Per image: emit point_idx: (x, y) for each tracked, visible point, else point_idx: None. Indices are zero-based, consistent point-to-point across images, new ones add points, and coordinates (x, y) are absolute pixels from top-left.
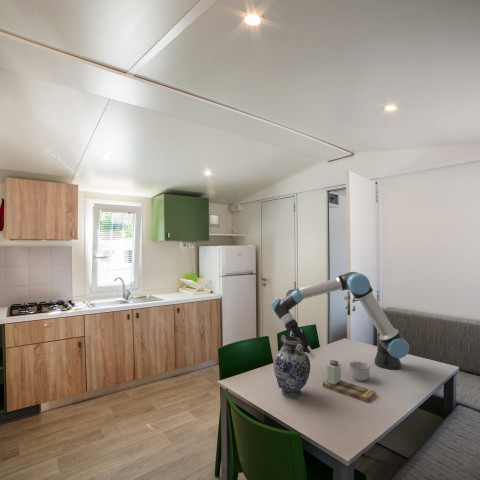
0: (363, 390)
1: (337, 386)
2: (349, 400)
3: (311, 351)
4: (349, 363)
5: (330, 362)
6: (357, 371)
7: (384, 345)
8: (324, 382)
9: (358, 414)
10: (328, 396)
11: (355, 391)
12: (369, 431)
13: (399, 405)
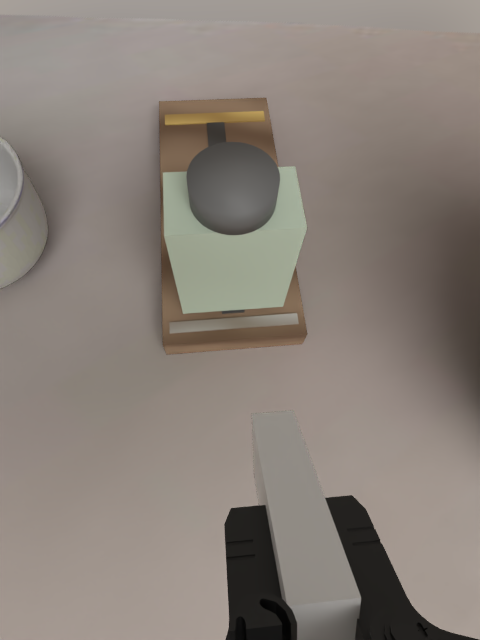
0: (198, 138)
1: None
2: (317, 171)
3: (303, 475)
4: None
5: (276, 195)
6: (29, 184)
7: None
8: (287, 331)
9: (392, 104)
10: (376, 255)
11: None
12: (454, 48)
13: (182, 43)
